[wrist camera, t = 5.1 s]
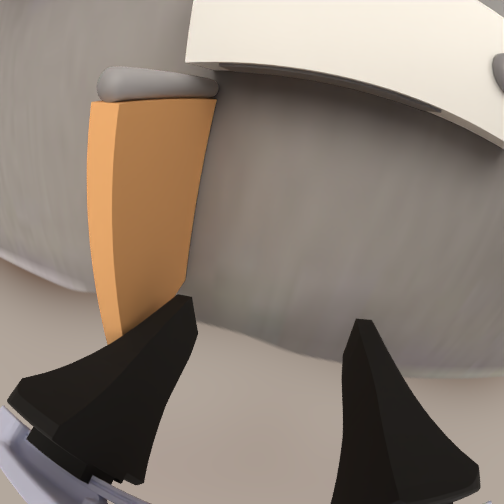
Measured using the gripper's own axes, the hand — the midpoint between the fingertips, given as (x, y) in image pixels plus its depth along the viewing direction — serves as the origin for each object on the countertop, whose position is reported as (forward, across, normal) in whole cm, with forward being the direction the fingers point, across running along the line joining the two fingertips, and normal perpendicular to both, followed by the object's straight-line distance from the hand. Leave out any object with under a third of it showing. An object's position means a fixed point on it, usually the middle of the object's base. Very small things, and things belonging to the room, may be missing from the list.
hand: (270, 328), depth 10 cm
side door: (+3, +4, -4) cm, 7 cm away
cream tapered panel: (+3, -4, -11) cm, 12 cm away
